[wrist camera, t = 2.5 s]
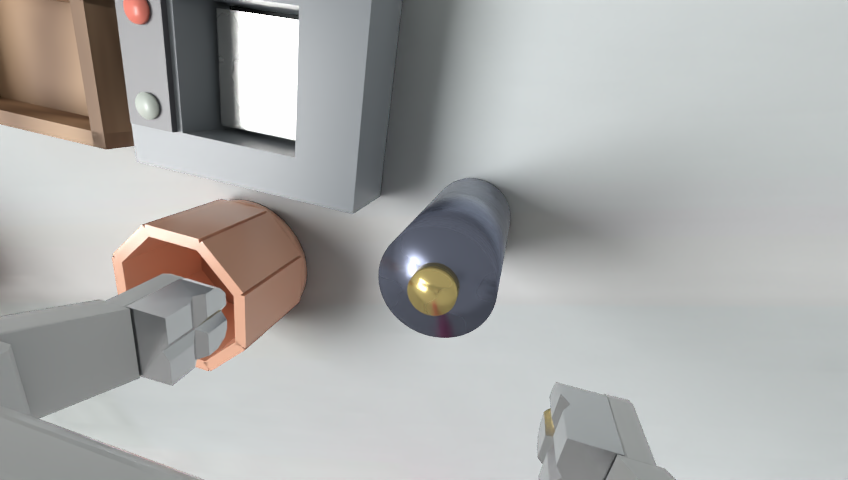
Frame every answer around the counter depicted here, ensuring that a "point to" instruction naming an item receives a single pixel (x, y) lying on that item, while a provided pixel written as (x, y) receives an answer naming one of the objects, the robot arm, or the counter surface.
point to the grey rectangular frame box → (315, 107)
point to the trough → (64, 71)
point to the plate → (258, 72)
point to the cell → (448, 261)
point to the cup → (222, 265)
